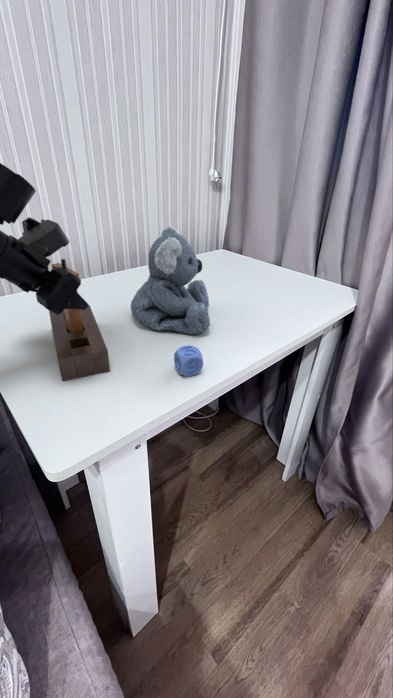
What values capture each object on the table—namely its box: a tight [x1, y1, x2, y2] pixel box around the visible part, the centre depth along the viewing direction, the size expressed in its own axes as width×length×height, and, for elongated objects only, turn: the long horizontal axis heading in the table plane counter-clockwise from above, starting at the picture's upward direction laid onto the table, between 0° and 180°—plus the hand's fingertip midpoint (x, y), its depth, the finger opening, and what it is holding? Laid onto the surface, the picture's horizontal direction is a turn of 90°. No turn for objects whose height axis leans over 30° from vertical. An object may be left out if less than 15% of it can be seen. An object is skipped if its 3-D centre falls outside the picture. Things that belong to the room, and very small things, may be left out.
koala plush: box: [130, 226, 211, 335], centre depth 71 cm, size 17×18×20 cm
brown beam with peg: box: [51, 258, 84, 333], centre depth 59 cm, size 2×7×16 cm, turn 44°
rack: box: [48, 304, 111, 382], centre depth 63 cm, size 8×19×4 cm, turn 24°
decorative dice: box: [173, 344, 204, 377], centre depth 58 cm, size 4×4×4 cm
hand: (77, 301), depth 60 cm, fingers closed on brown beam with peg, 6 cm apart
